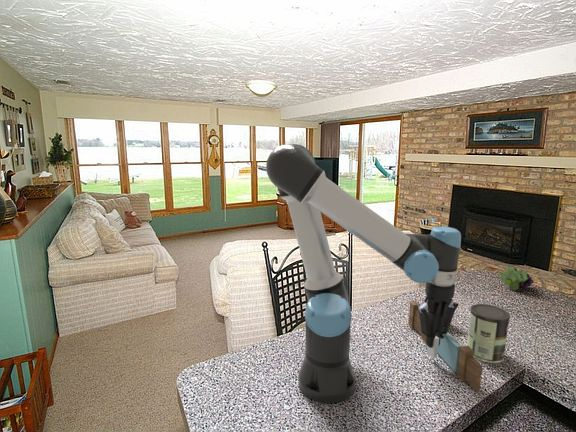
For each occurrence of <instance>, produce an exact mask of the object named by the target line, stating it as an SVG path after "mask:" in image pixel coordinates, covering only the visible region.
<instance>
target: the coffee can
mask: <svg viewBox="0 0 576 432" xmlns="http://www.w3.org/2000/svg"><path fill="white" fill-rule="evenodd" d="M469 308H470V309H469V310H470V312H469V313H470V314H469V323H468V332H467V342H466V346H469V347H470V348H471V349H472V350H474V354H473V358H474V359H475V360H477V361H478V360H479V361H480V362H484V363H487V364H488V363H489V364H500V363H503V362H504V360H505V353H506V352H505V351H506V343H507V337H508V331H509V330H508V329H509V323H510V318H511V314H510V313H509V312H508V311H507V310H505V309H503V308H501V307H499V306H496V305H491V304H488V303H487V304H485V303H476V304H473V305H471V306H470V307H469Z"/></svg>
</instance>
